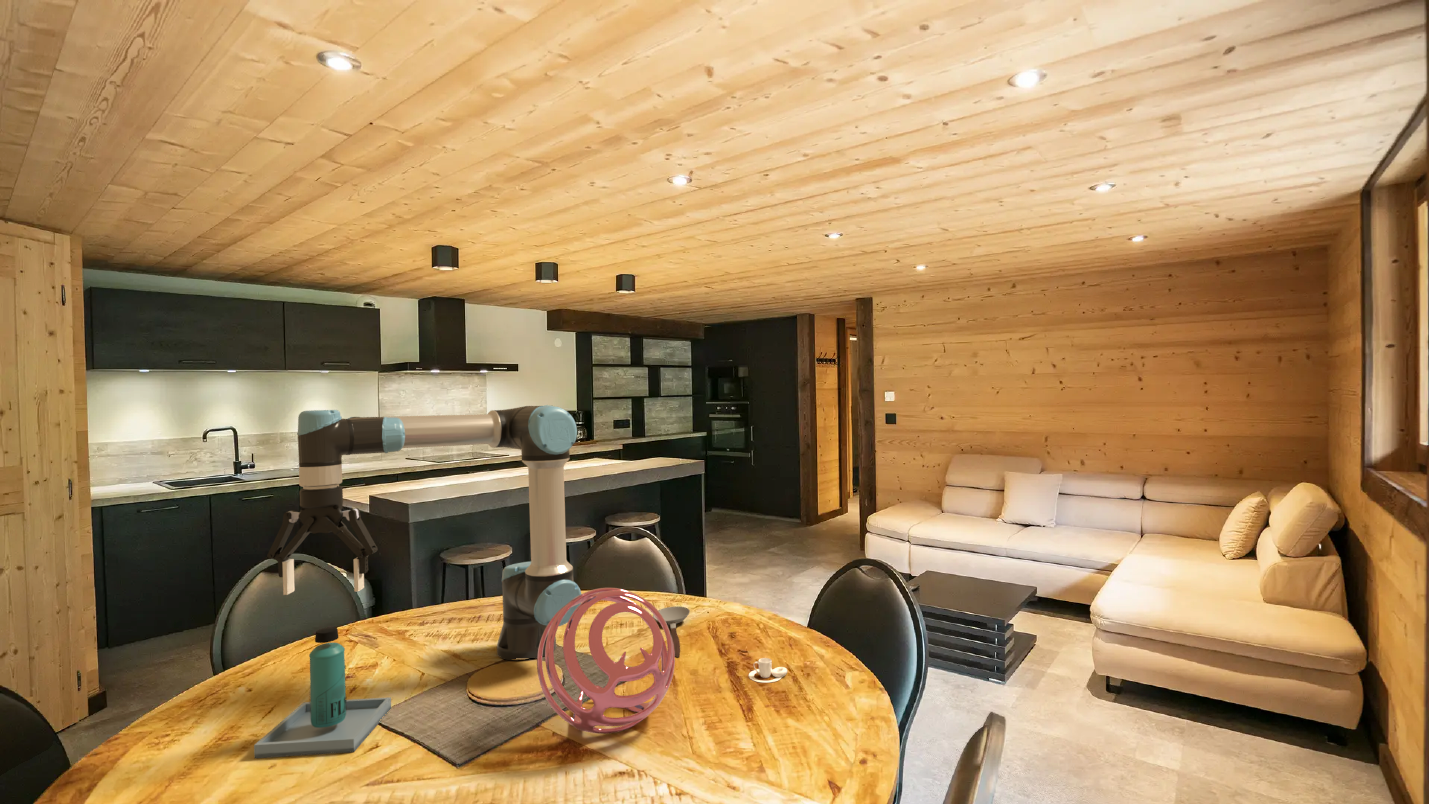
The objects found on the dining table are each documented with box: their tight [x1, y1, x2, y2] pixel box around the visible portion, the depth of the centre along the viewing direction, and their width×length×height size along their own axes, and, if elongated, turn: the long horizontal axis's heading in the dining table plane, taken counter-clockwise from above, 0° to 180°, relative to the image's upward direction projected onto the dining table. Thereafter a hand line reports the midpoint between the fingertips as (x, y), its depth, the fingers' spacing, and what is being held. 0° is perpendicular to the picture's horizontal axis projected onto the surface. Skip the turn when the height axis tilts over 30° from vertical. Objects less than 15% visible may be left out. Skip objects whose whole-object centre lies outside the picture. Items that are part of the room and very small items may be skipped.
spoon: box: [652, 606, 691, 659], centre depth 188 cm, size 11×33×3 cm, turn 7°
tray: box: [253, 696, 392, 759], centre depth 137 cm, size 18×18×2 cm
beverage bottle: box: [308, 626, 347, 728], centre depth 137 cm, size 6×7×20 cm
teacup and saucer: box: [748, 657, 788, 684], centre depth 160 cm, size 9×8×4 cm
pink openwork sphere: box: [536, 587, 676, 735], centre depth 140 cm, size 28×28×27 cm
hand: (324, 591), depth 137 cm, fingers open, 13 cm apart
